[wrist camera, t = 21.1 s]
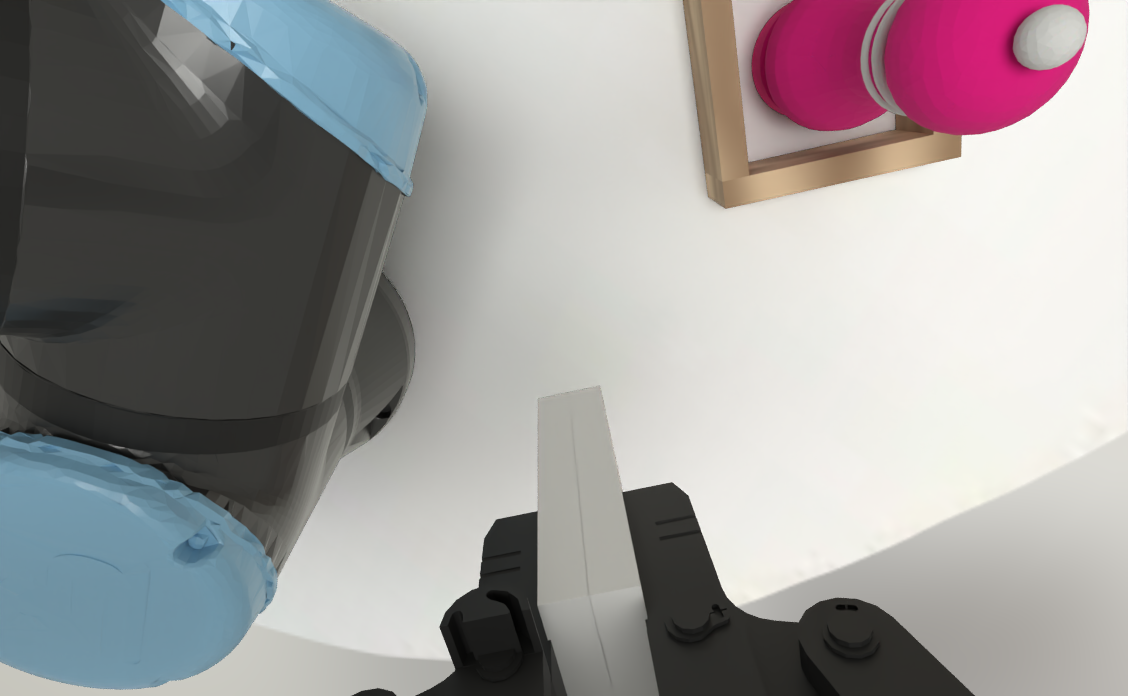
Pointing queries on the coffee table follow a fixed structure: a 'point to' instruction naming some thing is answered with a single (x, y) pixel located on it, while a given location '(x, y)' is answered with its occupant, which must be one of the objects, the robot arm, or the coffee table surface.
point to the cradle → (794, 171)
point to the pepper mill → (917, 60)
